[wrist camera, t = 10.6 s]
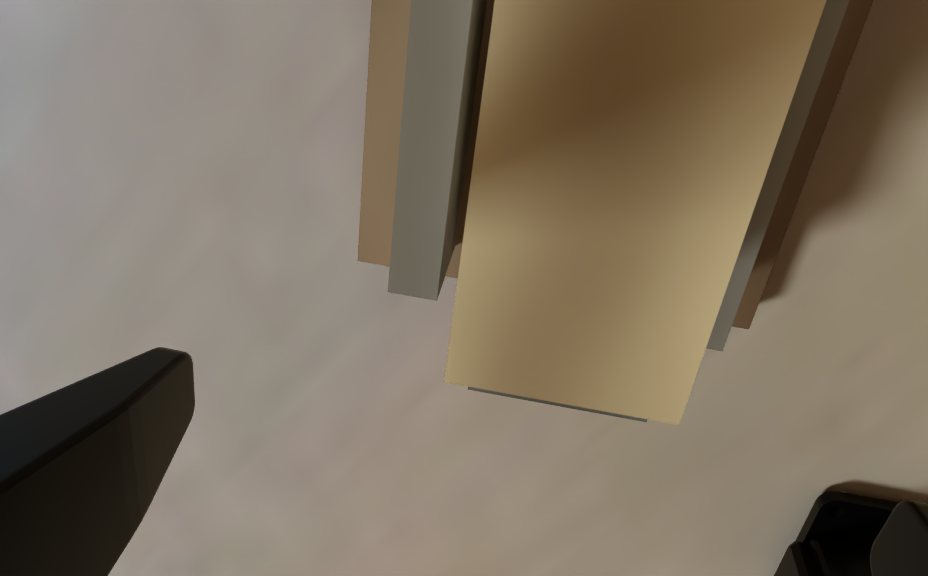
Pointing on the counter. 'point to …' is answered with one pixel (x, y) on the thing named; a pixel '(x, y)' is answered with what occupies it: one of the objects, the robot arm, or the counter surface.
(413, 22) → the slot board
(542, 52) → the oak rail end
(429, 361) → the counter surface
